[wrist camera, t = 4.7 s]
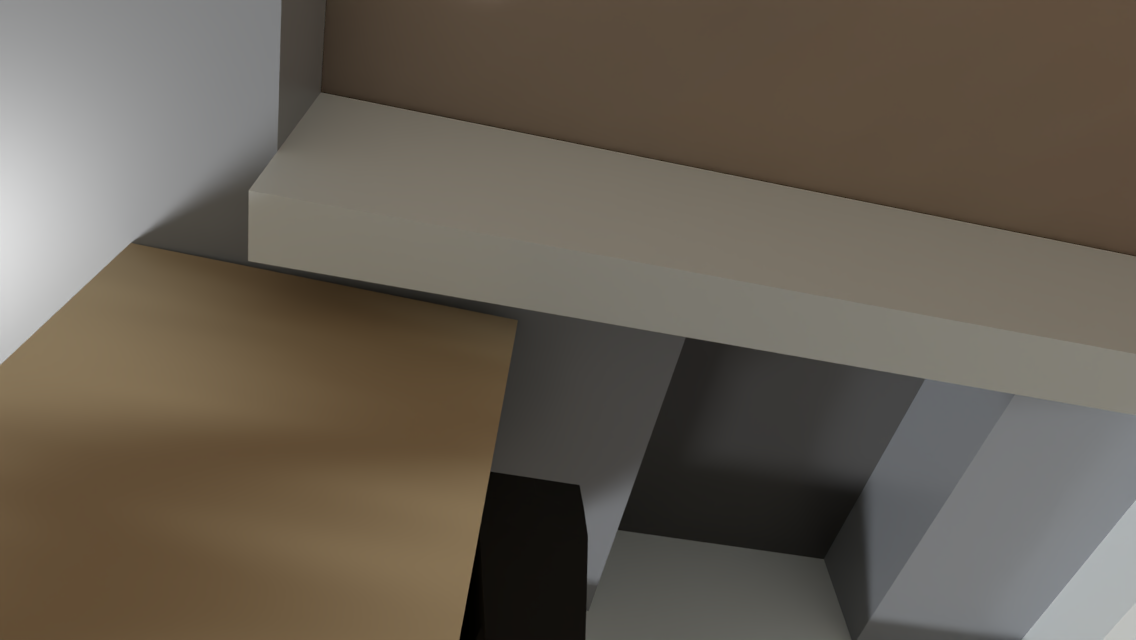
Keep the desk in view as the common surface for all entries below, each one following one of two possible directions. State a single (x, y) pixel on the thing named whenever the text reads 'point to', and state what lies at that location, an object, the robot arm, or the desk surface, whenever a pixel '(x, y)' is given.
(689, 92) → the desk surface
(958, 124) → the desk surface
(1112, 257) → the trap channel
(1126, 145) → the desk surface
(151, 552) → the maple block
